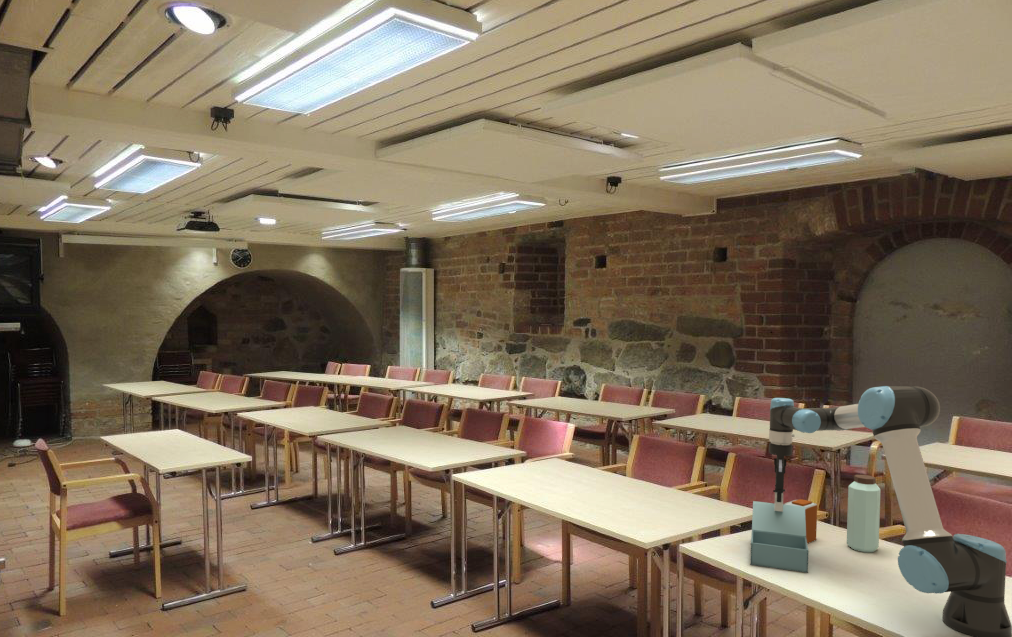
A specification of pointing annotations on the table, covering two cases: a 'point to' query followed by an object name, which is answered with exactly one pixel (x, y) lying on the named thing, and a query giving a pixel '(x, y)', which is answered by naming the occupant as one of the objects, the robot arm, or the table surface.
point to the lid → (779, 519)
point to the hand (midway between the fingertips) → (778, 510)
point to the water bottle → (863, 514)
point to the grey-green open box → (779, 551)
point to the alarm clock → (808, 517)
